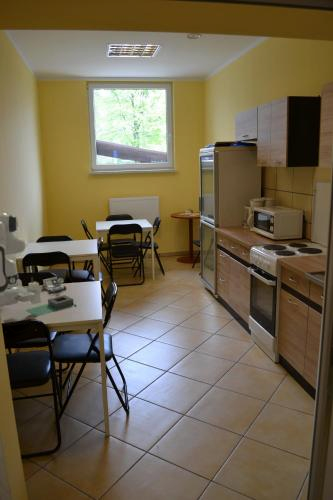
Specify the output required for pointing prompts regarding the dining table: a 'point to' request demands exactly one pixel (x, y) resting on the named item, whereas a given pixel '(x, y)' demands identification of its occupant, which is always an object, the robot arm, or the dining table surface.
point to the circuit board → (44, 310)
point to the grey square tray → (60, 302)
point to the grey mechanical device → (53, 284)
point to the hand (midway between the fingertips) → (35, 290)
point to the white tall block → (35, 290)
